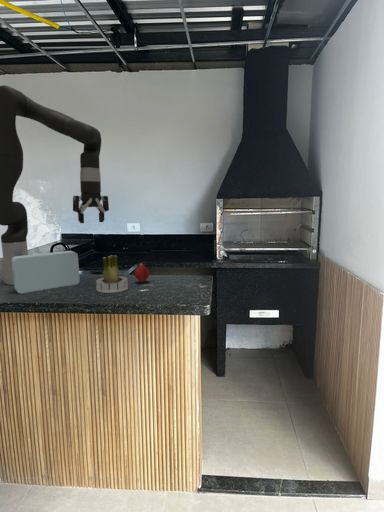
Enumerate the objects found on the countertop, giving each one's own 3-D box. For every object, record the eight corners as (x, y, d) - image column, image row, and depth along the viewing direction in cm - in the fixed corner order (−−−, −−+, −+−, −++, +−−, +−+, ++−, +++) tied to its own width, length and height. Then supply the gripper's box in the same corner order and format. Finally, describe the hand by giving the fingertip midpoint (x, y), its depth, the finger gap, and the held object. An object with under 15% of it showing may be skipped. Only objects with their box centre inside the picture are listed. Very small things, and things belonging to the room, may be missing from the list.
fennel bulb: (104, 288, 128) (102, 257, 126) (104, 285, 133) (102, 254, 131) (119, 287, 130) (118, 256, 128) (119, 283, 134) (117, 254, 132)
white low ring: (90, 292, 127) (89, 283, 126) (105, 283, 138) (105, 275, 138) (120, 294, 124) (119, 284, 124) (133, 285, 136) (132, 276, 135)
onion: (142, 280, 144) (142, 261, 143) (152, 282, 141) (151, 263, 139) (132, 282, 140) (131, 263, 138) (141, 285, 136) (141, 265, 135)
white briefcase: (75, 281, 144) (73, 250, 141) (79, 283, 139) (77, 251, 137) (14, 290, 130) (10, 256, 128) (17, 294, 125) (13, 258, 123)
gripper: (78, 179, 123) (79, 224, 126) (111, 181, 133) (112, 222, 136) (68, 179, 128) (70, 222, 131) (101, 181, 138) (102, 220, 141)
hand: (91, 222), depth 134 cm, fingers open, 8 cm apart
